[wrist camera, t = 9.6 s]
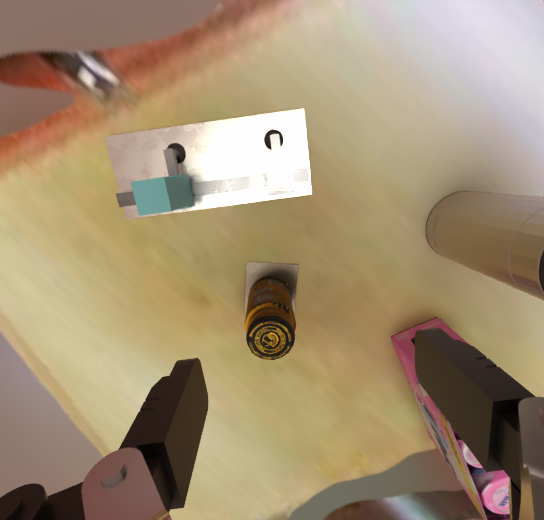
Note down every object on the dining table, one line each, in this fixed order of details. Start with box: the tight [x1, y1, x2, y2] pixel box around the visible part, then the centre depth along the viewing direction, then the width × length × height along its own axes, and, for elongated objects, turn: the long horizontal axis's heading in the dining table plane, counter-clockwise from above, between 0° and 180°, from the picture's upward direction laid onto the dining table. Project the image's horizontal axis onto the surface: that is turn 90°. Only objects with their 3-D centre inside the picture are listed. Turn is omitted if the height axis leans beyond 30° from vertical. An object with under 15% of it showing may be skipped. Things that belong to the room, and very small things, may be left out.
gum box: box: [391, 318, 510, 520], centre depth 41 cm, size 24×8×14 cm, turn 25°
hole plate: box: [104, 108, 312, 219], centre depth 35 cm, size 24×10×6 cm, turn 97°
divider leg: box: [130, 148, 195, 216], centre depth 31 cm, size 3×7×11 cm, turn 7°
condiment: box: [245, 262, 298, 360], centre depth 37 cm, size 7×8×12 cm
